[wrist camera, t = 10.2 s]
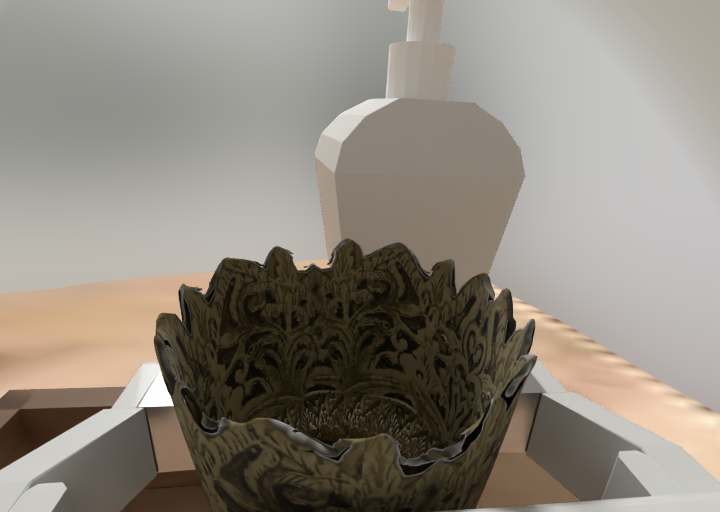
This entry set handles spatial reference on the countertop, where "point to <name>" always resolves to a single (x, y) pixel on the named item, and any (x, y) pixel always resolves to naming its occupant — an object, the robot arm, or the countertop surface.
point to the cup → (344, 382)
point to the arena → (61, 423)
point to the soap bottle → (419, 161)
